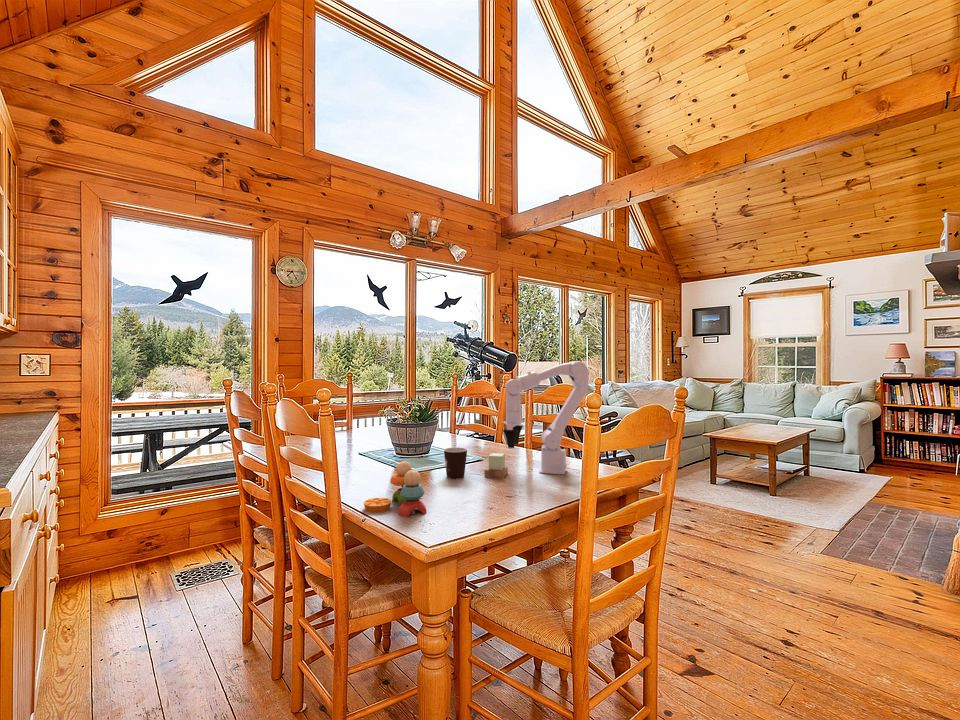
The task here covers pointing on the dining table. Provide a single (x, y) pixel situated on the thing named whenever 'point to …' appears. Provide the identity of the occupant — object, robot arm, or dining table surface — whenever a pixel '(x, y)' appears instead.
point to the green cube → (496, 461)
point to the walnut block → (496, 472)
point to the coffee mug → (455, 462)
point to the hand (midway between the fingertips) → (513, 445)
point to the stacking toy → (401, 493)
